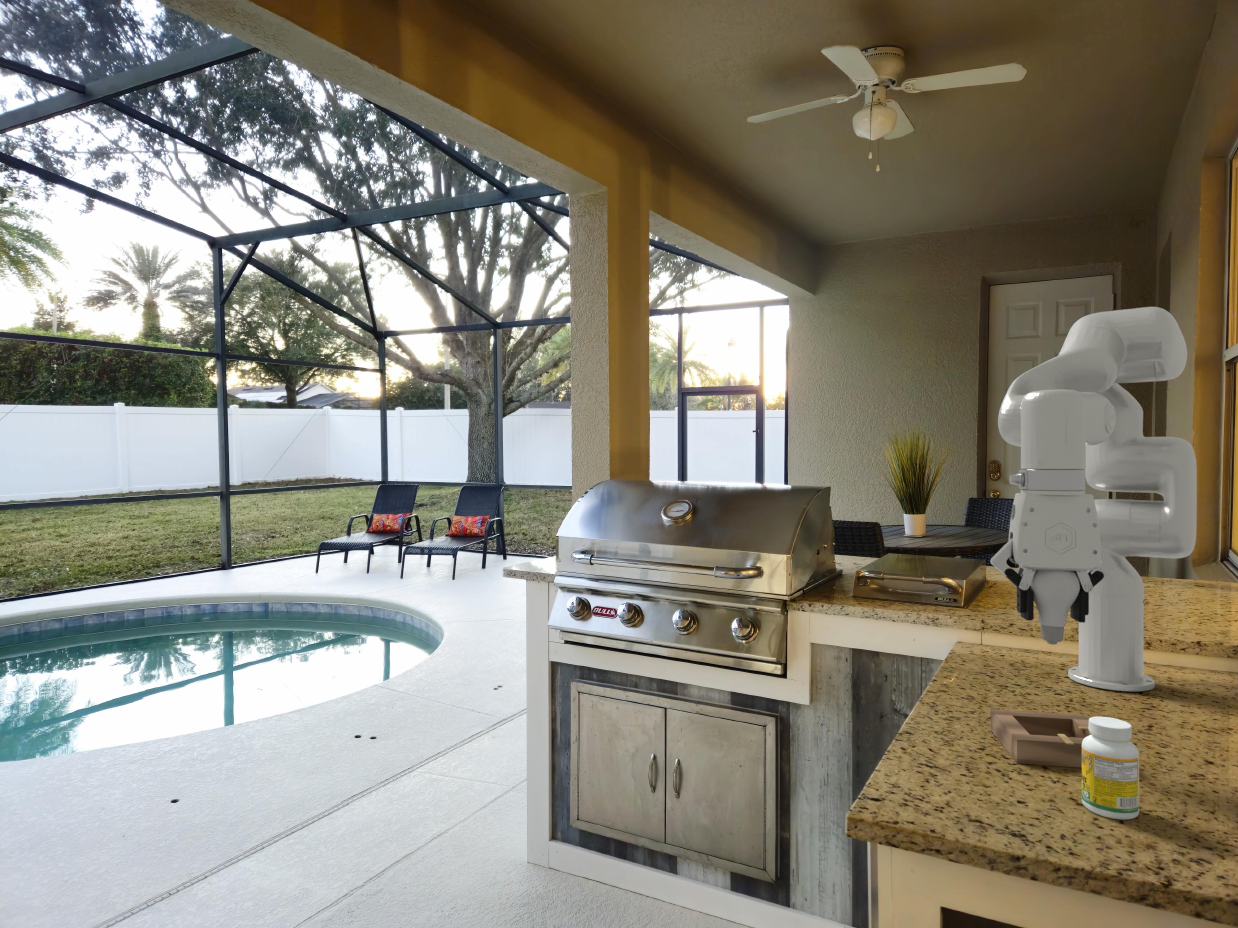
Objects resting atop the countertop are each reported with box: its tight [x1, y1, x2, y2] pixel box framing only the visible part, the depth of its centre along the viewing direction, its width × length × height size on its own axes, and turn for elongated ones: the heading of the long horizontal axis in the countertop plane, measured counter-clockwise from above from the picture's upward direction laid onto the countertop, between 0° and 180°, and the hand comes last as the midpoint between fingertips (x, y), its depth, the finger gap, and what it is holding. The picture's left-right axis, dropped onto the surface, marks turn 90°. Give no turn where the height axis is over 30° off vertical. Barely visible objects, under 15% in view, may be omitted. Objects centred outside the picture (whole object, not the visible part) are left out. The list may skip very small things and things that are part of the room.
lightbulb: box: [1030, 570, 1080, 646], centre depth 102 cm, size 6×6×11 cm
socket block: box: [990, 709, 1092, 769], centre depth 102 cm, size 12×12×3 cm
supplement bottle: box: [1081, 716, 1140, 821], centre depth 84 cm, size 5×5×10 cm
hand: (1052, 618), depth 102 cm, fingers closed on lightbulb, 5 cm apart
